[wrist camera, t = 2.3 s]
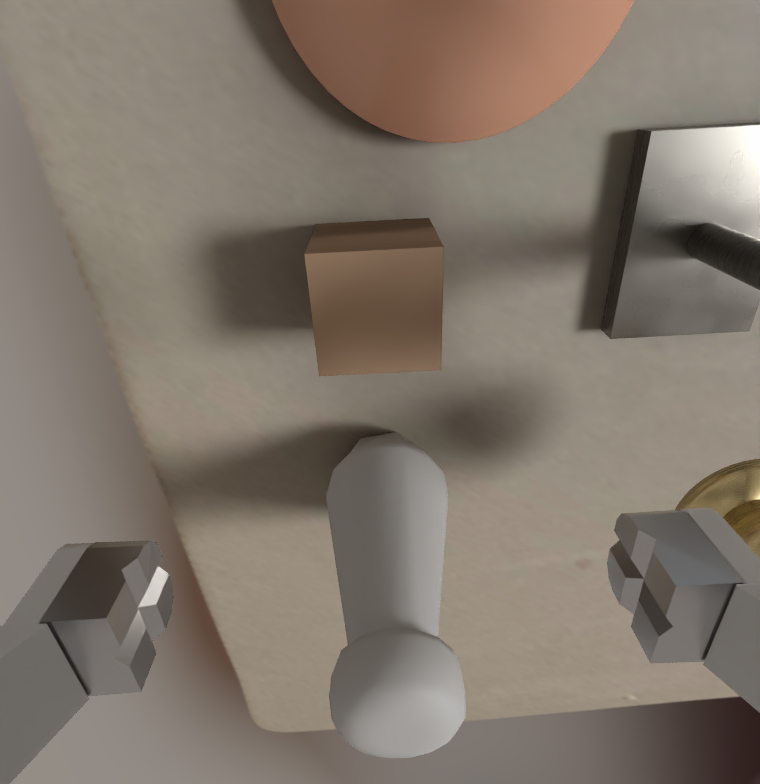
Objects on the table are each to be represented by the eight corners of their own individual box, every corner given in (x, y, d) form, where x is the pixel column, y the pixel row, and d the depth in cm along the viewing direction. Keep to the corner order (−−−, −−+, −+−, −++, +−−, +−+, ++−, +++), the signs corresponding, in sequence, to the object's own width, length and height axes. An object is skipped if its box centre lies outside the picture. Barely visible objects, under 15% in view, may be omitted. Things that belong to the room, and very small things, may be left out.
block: (316, 223, 20) (304, 253, 16) (428, 217, 20) (443, 247, 16) (327, 327, 23) (319, 376, 19) (428, 322, 22) (441, 369, 19)
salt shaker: (462, 472, 27) (532, 745, 16) (375, 521, 28) (382, 800, 17) (397, 397, 24) (424, 655, 13) (306, 456, 26) (262, 731, 15)
